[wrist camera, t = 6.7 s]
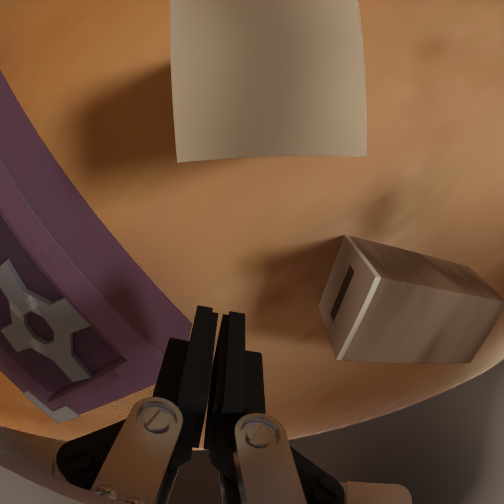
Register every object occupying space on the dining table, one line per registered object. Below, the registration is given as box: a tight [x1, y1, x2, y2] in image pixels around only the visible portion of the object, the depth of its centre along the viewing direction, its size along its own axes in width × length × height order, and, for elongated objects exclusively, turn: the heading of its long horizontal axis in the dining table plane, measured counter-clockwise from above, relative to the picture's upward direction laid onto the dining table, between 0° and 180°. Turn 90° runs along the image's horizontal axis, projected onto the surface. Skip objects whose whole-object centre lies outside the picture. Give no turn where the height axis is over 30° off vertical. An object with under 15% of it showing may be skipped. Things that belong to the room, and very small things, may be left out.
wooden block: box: [318, 235, 504, 364], centre depth 16 cm, size 5×5×11 cm
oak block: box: [170, 0, 367, 163], centre depth 10 cm, size 5×5×8 cm
